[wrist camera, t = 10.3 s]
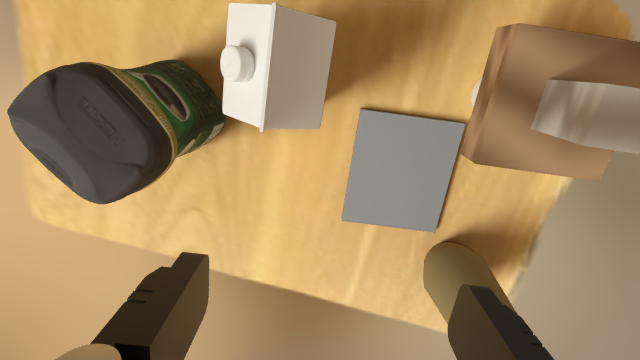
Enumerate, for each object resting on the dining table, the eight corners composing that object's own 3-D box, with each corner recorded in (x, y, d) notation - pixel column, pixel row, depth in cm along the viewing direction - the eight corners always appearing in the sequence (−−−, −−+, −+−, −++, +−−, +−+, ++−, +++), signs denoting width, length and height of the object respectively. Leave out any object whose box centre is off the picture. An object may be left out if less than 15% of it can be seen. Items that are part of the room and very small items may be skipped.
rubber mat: (360, 108, 38) (361, 109, 37) (462, 122, 39) (465, 123, 38) (341, 218, 43) (341, 220, 42) (432, 229, 43) (434, 232, 43)
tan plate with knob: (496, 27, 28) (576, 11, 20) (622, 47, 29) (756, 40, 20) (460, 153, 32) (512, 188, 23) (571, 169, 33) (665, 209, 24)
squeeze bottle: (413, 285, 46) (465, 415, 29) (418, 233, 44) (478, 343, 27) (471, 285, 46) (558, 415, 29) (480, 233, 43) (581, 343, 26)
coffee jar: (130, 93, 38) (-36, 119, 20) (179, 48, 36) (46, 35, 19) (190, 158, 40) (88, 232, 23) (239, 119, 39) (169, 166, 21)
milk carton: (331, 37, 36) (340, 13, 18) (321, 104, 38) (319, 141, 20) (265, 26, 35) (207, -11, 18) (259, 94, 38) (201, 123, 20)
